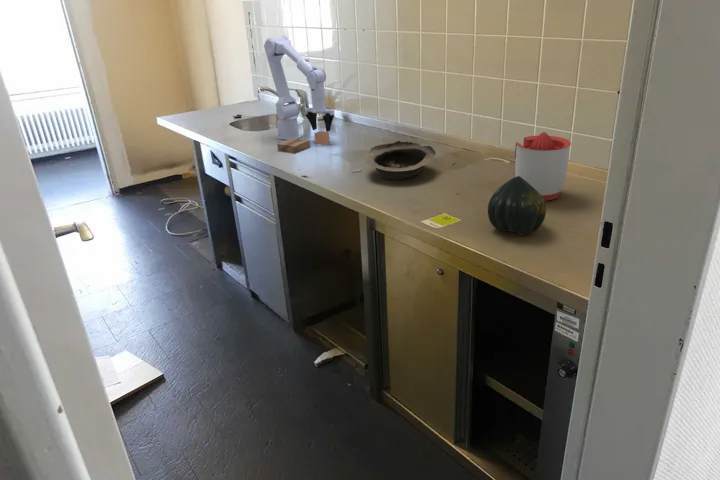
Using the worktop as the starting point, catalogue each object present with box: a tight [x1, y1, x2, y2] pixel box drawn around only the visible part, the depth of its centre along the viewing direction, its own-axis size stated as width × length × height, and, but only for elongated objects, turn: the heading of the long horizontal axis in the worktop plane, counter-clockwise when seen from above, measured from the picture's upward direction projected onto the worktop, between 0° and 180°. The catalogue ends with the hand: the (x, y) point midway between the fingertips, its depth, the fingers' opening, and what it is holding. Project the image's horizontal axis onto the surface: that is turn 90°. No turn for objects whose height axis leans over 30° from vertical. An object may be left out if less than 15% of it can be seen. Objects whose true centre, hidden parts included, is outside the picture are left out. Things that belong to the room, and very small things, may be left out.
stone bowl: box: [365, 140, 436, 181], centre depth 193 cm, size 25×25×9 cm
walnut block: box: [276, 138, 311, 155], centre depth 233 cm, size 10×10×4 cm
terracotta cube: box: [314, 130, 331, 146], centre depth 238 cm, size 4×4×5 cm
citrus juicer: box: [510, 131, 572, 202], centre depth 165 cm, size 16×17×20 cm
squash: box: [487, 176, 547, 236], centre depth 145 cm, size 14×15×15 cm
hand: (321, 130), depth 237 cm, fingers open, 7 cm apart
